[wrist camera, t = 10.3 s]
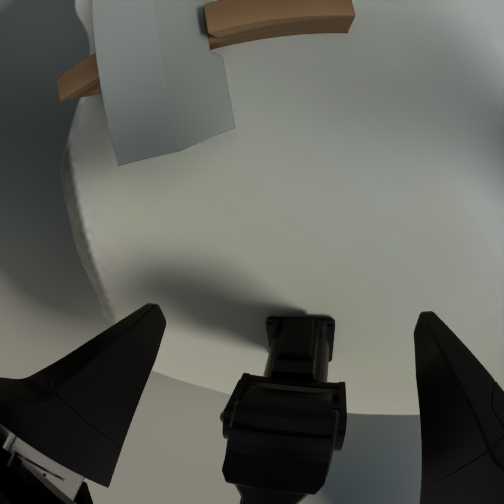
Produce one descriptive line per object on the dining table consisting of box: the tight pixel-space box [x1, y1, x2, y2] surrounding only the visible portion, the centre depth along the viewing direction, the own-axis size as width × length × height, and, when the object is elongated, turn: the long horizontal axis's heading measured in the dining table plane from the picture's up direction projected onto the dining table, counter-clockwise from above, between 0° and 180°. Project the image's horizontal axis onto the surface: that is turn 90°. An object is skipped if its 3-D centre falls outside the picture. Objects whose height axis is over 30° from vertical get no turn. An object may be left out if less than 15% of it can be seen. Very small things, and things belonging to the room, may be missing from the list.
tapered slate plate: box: [92, 0, 235, 166], centre depth 10 cm, size 14×4×8 cm, turn 9°
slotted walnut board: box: [57, 0, 355, 101], centre depth 12 cm, size 2×20×4 cm, turn 99°
